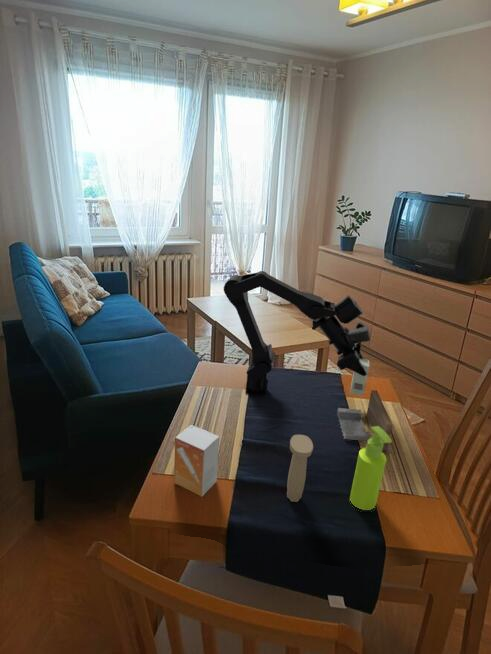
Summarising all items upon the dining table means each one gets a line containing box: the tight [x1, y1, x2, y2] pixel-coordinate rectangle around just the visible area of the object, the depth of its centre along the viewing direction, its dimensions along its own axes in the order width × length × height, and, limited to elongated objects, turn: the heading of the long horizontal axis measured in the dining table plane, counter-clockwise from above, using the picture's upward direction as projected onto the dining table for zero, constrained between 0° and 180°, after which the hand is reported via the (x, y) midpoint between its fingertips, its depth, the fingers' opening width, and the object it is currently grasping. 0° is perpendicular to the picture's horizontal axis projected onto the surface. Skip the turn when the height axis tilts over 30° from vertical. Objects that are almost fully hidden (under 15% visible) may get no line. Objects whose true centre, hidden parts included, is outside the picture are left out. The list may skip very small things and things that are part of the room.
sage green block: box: [349, 358, 370, 397], centre depth 136 cm, size 4×6×10 cm
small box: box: [173, 424, 220, 498], centre depth 101 cm, size 8×6×13 cm
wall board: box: [366, 389, 394, 454], centre depth 126 cm, size 3×18×9 cm, turn 178°
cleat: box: [336, 407, 371, 443], centre depth 129 cm, size 7×14×2 cm, turn 178°
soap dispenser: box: [349, 426, 393, 510], centre depth 97 cm, size 6×7×20 cm
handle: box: [286, 434, 314, 503], centre depth 98 cm, size 5×6×15 cm
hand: (365, 371), depth 135 cm, fingers closed on sage green block, 5 cm apart
